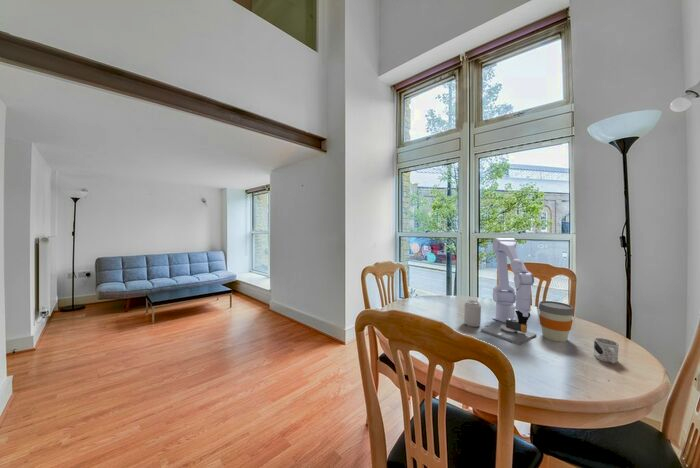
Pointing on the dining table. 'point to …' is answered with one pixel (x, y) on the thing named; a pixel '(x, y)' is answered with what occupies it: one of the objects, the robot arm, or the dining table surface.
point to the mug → (606, 350)
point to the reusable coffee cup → (555, 320)
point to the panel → (508, 334)
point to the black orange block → (513, 326)
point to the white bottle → (472, 313)
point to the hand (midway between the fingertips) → (522, 327)
